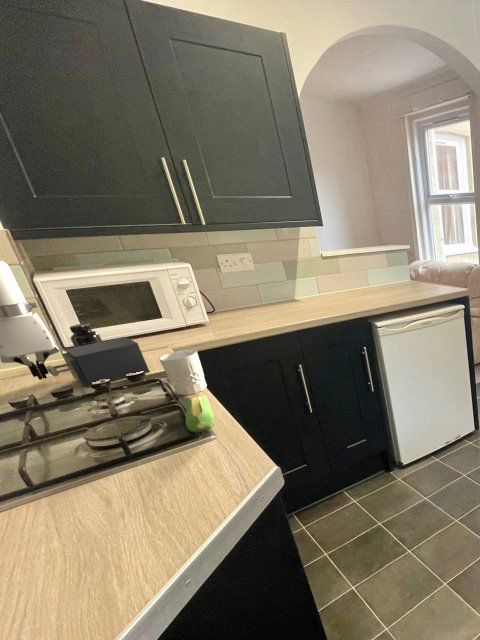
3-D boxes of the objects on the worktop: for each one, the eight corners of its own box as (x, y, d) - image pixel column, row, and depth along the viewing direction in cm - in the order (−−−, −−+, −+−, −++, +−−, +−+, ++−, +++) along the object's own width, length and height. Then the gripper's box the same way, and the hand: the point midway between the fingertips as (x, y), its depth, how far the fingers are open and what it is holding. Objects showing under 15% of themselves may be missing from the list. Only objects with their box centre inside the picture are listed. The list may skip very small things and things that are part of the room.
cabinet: (90, 387, 117) (75, 356, 113) (79, 378, 124) (65, 349, 120) (149, 371, 127) (137, 342, 123) (137, 363, 134) (125, 336, 130)
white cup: (188, 384, 116) (175, 350, 112) (216, 383, 115) (203, 349, 111) (166, 396, 108) (151, 360, 104) (195, 396, 108) (181, 359, 104)
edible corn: (190, 440, 87) (182, 421, 85) (186, 407, 102) (180, 390, 100) (219, 432, 90) (212, 413, 88) (211, 401, 104) (205, 384, 103)
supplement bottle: (114, 355, 143) (98, 321, 138) (103, 361, 137) (86, 326, 132) (89, 358, 141) (72, 323, 136) (77, 365, 135) (59, 329, 130)
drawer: (60, 391, 113) (47, 366, 110) (52, 382, 119) (39, 358, 116) (138, 370, 125) (128, 347, 122) (127, 363, 131) (117, 341, 128)
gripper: (47, 303, 113) (77, 366, 121) (-39, 315, 103) (0, 383, 110) (51, 307, 109) (82, 372, 116) (-38, 319, 98) (3, 390, 106)
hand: (42, 377), depth 113 cm, fingers closed
